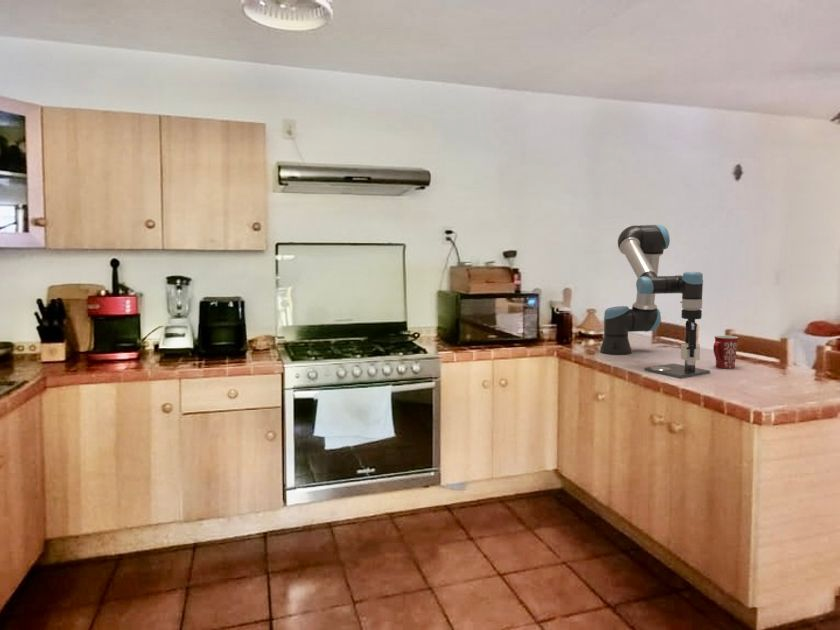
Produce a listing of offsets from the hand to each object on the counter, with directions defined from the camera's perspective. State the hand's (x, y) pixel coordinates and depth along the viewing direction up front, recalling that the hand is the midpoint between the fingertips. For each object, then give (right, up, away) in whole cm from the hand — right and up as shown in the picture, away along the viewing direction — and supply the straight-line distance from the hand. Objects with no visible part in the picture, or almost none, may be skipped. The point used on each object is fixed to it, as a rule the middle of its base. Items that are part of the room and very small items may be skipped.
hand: (689, 362), depth 233 cm
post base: (-4, -4, +3) cm, 7 cm away
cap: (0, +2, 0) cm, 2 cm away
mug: (+19, -3, +10) cm, 21 cm away
